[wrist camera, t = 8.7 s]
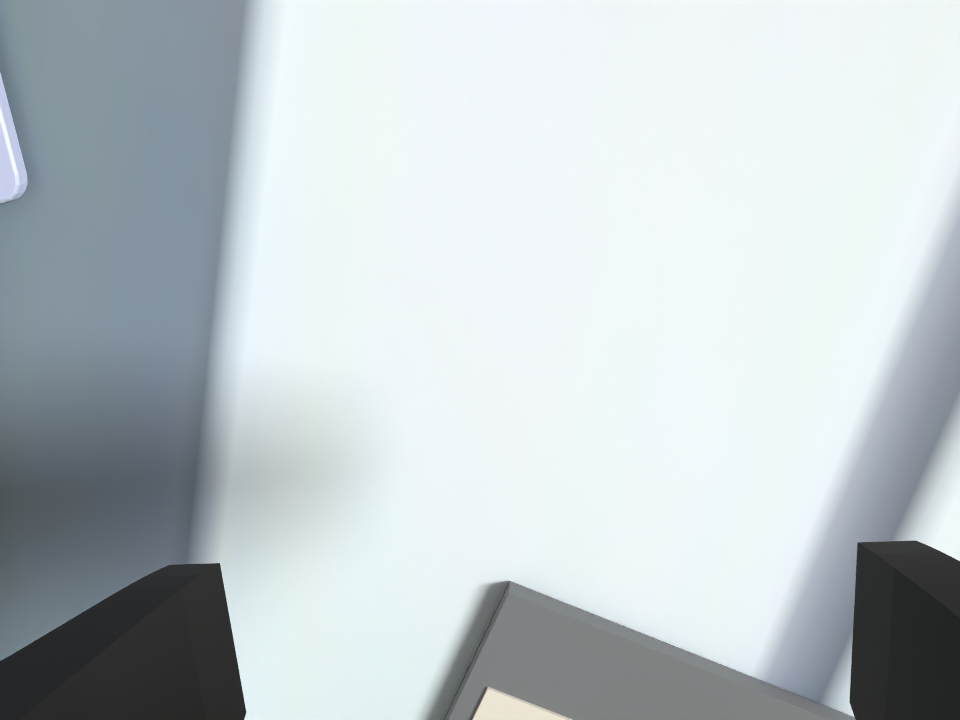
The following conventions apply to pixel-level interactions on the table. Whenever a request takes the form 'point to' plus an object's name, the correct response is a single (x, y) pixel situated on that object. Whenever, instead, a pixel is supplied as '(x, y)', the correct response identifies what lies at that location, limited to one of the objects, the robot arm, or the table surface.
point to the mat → (604, 673)
